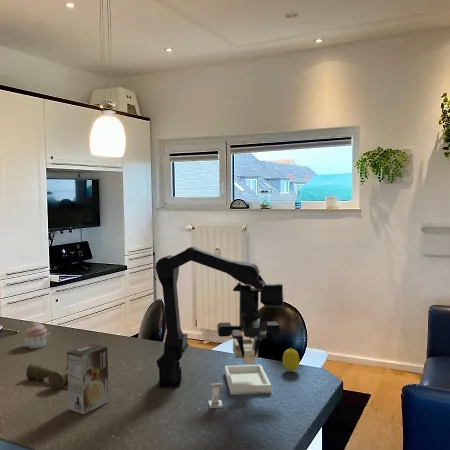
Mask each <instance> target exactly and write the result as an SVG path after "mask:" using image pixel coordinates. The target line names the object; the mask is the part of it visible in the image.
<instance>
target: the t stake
mask: <svg viewBox="0 0 450 450" xmlns="http://www.w3.org/2000/svg"><path fill="white" fill-rule="evenodd" d="M223 386H224V385H223V382H213V383H211V382H210V388H211V400H209V399H208V408H209V409H221V408H222V409H223V401H222V399H220V388H223Z"/></svg>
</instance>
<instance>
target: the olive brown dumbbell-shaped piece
mask: <svg viewBox="0 0 450 450" xmlns="http://www.w3.org/2000/svg"><path fill="white" fill-rule="evenodd" d="M25 375H26V378H27V379H28V380H29V381H31V380H34V379H37V380H40V381H41V380H44V379H47V378H48V379H47V381H48V384H49V387H50V388H51V389H53V390H57V391H59V390H61V389H63V387H64V385H65V383H66V382H68V365H66V367H65V369H64V370H62V371H55V370H52V369H50V368H48V367H47V365H41V366H40V365H38V363H35V362H32V363H31V364H29V365H28V367H27V368H26V371H25Z"/></svg>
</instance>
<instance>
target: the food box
mask: <svg viewBox="0 0 450 450" xmlns="http://www.w3.org/2000/svg"><path fill="white" fill-rule="evenodd" d="M66 354H67V355H66V357H67V360H66V361H67V365H68V380H67V390H68V392H67V393H68V395H67V396H68V410H70V411H73V412H76V413H78V414H82V415H85V414H88V413H89V412H91V411H93V410H95V409H97V408H100V407H101V406H103V405H106V404H108V403H109V366H108V365H109V364H108V363H109V361H108V357H109V356H108V346H106V345H105V346H104V345H101V344H95V343H90V344H86V345H84V346H81V347H78V348H75V349H72V350H70V351H67V352H66ZM67 365H66V366H67Z"/></svg>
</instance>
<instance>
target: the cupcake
mask: <svg viewBox="0 0 450 450" xmlns="http://www.w3.org/2000/svg"><path fill="white" fill-rule="evenodd" d="M29 326H30V327H27V329H26V330H25V333H24V335H23V339H24V340H25V343H26V347H27V348H28V349H30V350H33V349H34V350H36V349H42V348H44V347H45V346H46V344H47V343H46V342H47V338H48V337H49V334H50V332H47V331H48V329H47V328H46V327H45V325H43V324H42V323H40V322H38V321H35V322H33V323H31V324H30V325H29Z"/></svg>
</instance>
